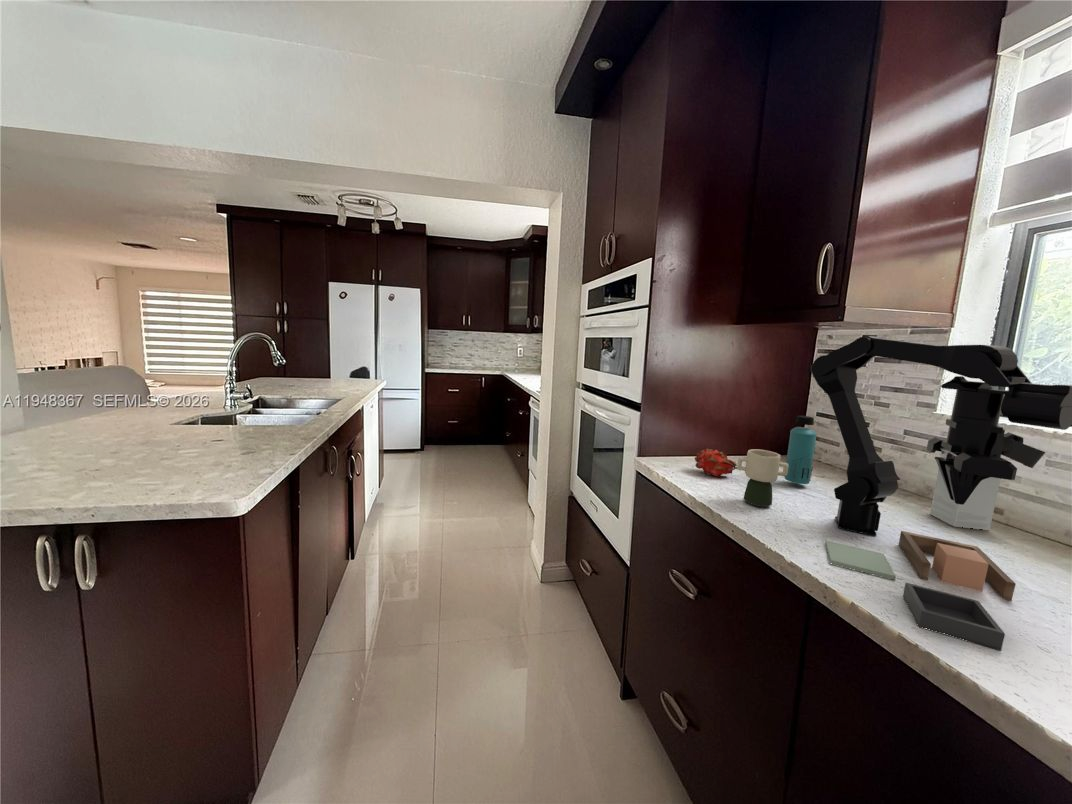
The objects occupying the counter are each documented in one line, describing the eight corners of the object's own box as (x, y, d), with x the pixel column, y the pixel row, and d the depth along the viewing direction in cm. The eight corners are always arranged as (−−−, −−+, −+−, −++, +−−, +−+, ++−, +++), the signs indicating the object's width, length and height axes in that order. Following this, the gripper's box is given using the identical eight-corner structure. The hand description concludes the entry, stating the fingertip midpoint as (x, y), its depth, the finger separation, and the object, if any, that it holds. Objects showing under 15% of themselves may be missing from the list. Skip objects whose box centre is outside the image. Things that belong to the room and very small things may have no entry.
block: (941, 582, 70) (947, 554, 69) (931, 568, 74) (936, 542, 73) (982, 592, 67) (988, 563, 67) (969, 577, 72) (975, 550, 71)
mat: (830, 564, 74) (831, 560, 74) (825, 543, 81) (825, 540, 81) (894, 580, 69) (895, 576, 69) (882, 557, 77) (883, 553, 77)
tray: (918, 626, 58) (921, 610, 57) (902, 596, 65) (905, 582, 64) (1000, 650, 54) (1005, 633, 53) (974, 616, 61) (978, 600, 60)
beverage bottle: (799, 490, 112) (810, 419, 109) (777, 482, 118) (786, 414, 115) (815, 488, 115) (826, 418, 112) (792, 480, 121) (802, 413, 118)
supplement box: (991, 531, 91) (1003, 476, 89) (952, 526, 93) (963, 473, 91) (964, 517, 98) (975, 467, 96) (928, 513, 100) (938, 463, 98)
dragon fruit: (690, 474, 127) (731, 489, 121) (689, 464, 120) (732, 479, 114) (699, 450, 129) (739, 463, 123) (698, 439, 122) (741, 452, 116)
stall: (919, 578, 70) (923, 562, 70) (898, 544, 83) (901, 530, 82) (1011, 600, 65) (1015, 583, 65) (974, 561, 77) (977, 546, 77)
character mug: (779, 502, 102) (786, 452, 100) (785, 513, 96) (793, 460, 94) (731, 495, 106) (737, 446, 104) (734, 505, 100) (740, 453, 98)
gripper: (1078, 433, 60) (1053, 534, 62) (1014, 416, 76) (995, 496, 78) (972, 423, 65) (952, 515, 68) (933, 408, 81) (918, 484, 84)
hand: (956, 502), depth 74 cm, fingers closed
